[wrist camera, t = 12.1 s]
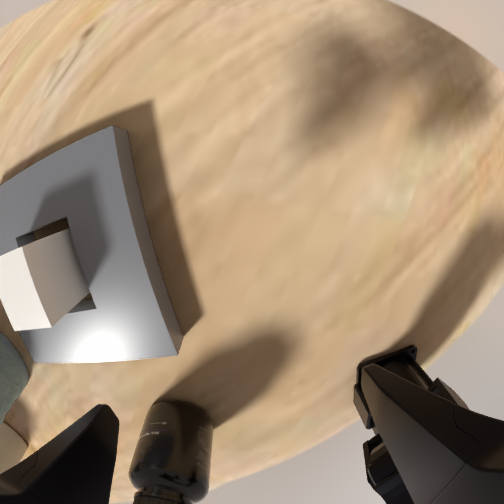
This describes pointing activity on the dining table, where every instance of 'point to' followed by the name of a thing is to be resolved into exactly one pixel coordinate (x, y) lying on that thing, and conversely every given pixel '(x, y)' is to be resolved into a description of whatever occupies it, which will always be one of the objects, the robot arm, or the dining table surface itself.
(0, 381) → the teal cup
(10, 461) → the travel mug
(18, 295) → the plug
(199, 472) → the supplement bottle
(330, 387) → the dining table surface
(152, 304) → the socket
